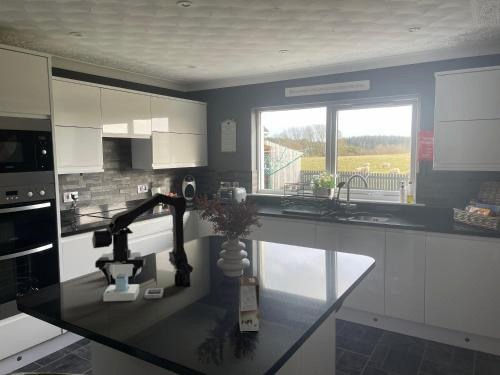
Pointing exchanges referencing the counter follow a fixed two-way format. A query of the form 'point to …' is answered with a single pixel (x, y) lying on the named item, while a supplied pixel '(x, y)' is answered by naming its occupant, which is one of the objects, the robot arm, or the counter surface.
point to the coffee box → (249, 303)
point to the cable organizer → (122, 265)
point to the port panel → (121, 293)
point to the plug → (121, 282)
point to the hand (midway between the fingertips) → (121, 282)
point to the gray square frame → (159, 290)
